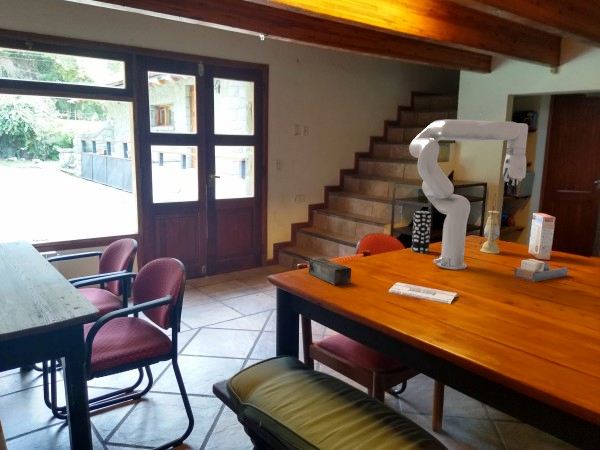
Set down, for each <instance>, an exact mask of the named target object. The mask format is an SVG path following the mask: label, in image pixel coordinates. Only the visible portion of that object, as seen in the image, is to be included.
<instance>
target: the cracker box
mask: <svg viewBox="0 0 600 450" xmlns="http://www.w3.org/2000/svg"><path fill="white" fill-rule="evenodd" d="M531 219H532V220H531V228H530V236H529V244H528V253H527V254H529V255H531V256H533V257H534V258H536V260H542V261H543V260H545V261H547V260H548V261H550V260H551V256H552V255H551V254H552V248H553V247H552V246H553V240H554V234H555V233H554V231H555V224H556V217H555V216H552V215H549V214H547V213H543V212H533V213H532V218H531Z"/></svg>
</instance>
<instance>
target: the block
mask: <svg viewBox="0 0 600 450" xmlns="http://www.w3.org/2000/svg"><path fill="white" fill-rule="evenodd" d="M520 263H521V264H520V267H521V269H522V270H525V271H529V272H533V273H537V272H543V270H544V263H545V262H544V261H540V260H538V259H533V258H529V259H522V260H521V262H520Z"/></svg>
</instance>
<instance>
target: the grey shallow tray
mask: <svg viewBox="0 0 600 450" xmlns="http://www.w3.org/2000/svg"><path fill="white" fill-rule="evenodd" d="M550 265H551V264H550V263H549V262H544V270H543V272H537V273H533V272H529V271H525V270H522V269H521V266H520V267H515V268H514V273H513V276H514V277H516V278H520V279H523V280H526V281H530V282H533V283H535V282H541V281H545V280H546V281H547V280H551V279H556V278H561V277H565V276H568V271H569V267H567V266H566V267H565V266H564V267H560V268H554V269H552V268H550Z"/></svg>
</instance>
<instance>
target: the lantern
mask: <svg viewBox="0 0 600 450" xmlns="http://www.w3.org/2000/svg"><path fill="white" fill-rule="evenodd" d="M496 194H497V193H494V197H493V202H492V204H494V203H495V205H494V206H492V207H491V208H492V209H491V210H489V211H487V213H488V215H489V216H488V217H487V221H486V224H485V227H484V230H483V231H484V232H483V236H484V238H485V239H486V240H487V241H485V242H483V241H480V243H479V245H481V248H480V249H479V251H480V252H482V253H485V254H494V255H495V254H500V250H499V245H498V243H496V240H498V238H499V237H500V226H499V217H497V216H498V214H499V213H500V211H498V210H495V208H496V204H497V201H495V199H496V198H497V195H496ZM494 201H495V202H494Z"/></svg>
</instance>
